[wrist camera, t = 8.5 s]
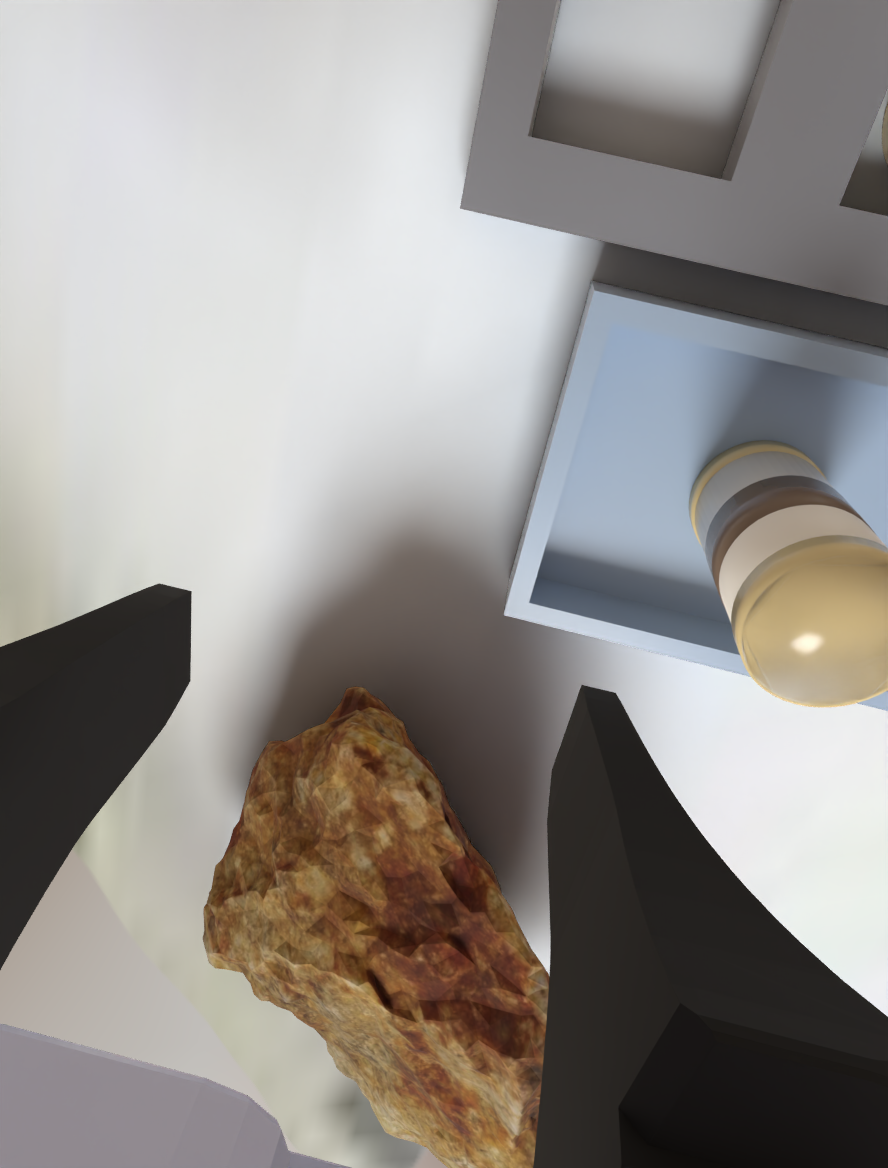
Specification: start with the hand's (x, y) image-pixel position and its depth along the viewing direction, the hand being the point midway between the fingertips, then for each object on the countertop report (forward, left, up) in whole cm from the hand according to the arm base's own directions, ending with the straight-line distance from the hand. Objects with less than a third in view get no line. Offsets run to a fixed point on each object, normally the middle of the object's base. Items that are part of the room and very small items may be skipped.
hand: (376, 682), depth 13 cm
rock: (-1, +15, -10) cm, 18 cm away
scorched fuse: (-8, -2, -10) cm, 13 cm away
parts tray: (-8, -2, -10) cm, 13 cm away
